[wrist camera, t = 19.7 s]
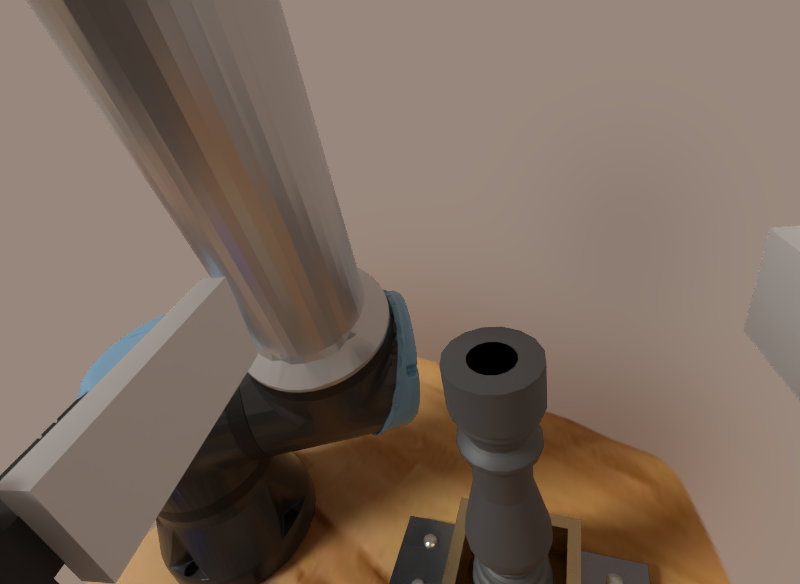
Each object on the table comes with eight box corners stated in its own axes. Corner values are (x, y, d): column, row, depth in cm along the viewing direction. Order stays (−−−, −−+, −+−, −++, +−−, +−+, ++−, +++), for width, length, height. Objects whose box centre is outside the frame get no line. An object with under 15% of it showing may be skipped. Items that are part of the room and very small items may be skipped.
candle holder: (503, 541, 41) (478, 313, 29) (568, 588, 37) (573, 345, 25) (460, 599, 38) (411, 369, 25) (527, 658, 34) (509, 418, 21)
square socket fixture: (380, 626, 37) (370, 601, 35) (415, 513, 45) (409, 488, 43) (661, 712, 30) (668, 686, 28) (644, 560, 38) (649, 532, 36)
